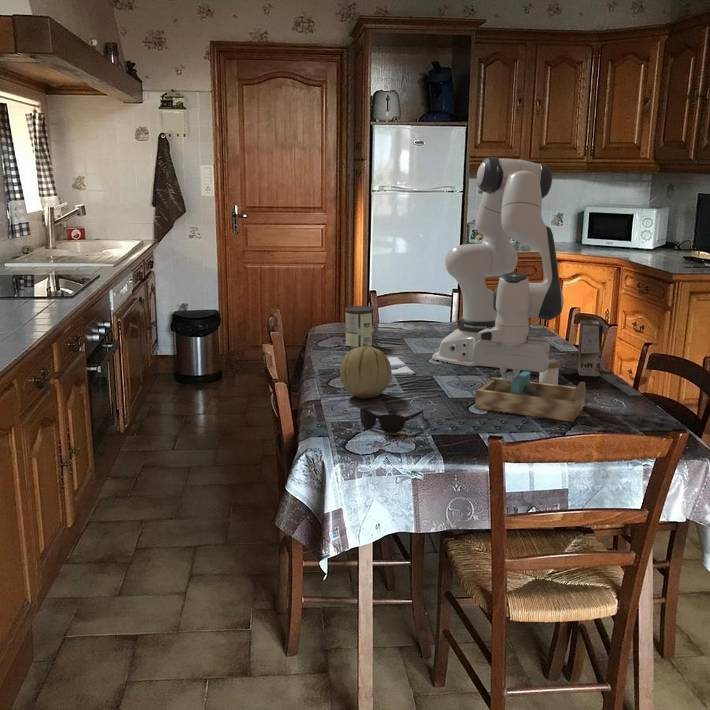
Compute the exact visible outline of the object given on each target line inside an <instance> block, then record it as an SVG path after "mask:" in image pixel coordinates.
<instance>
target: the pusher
mask: <svg viewBox="0 0 710 710" xmlns="http://www.w3.org/2000/svg"><path fill="white" fill-rule="evenodd" d="M531 372H532V371H524V370H522V372H520V373H519V374H518V376H517V377H516V378H515V379H514V380H513V381H512V385H511V393H512V394H520V395H527V396H529V394H534V395H535V394H536V387H530V382H531Z"/></svg>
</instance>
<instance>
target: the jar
mask: <svg viewBox="0 0 710 710" xmlns="http://www.w3.org/2000/svg"><path fill="white" fill-rule="evenodd" d="M560 364H561V362H560V361H559V360H557V359H550V358H549V367H548V369H547V370H546V371H545V372H539V376H538V383H545V384H553V385H559V383H558V382H559V369H560V367H561V365H560Z"/></svg>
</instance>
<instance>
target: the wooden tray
mask: <svg viewBox="0 0 710 710" xmlns="http://www.w3.org/2000/svg"><path fill="white" fill-rule="evenodd" d="M530 387H536V394H535V395H534V394H529V396H527V395H520V394H512V393H511V385H508V384H503V377H502V378H501V377H494V376H492V377H490V380H489V381H488V382H486V383H485V384H484V385H483V386H482V387H480V388H476V390H475V406H474V408H475V409H478V408H479V409H480V410H487V411H493V410H494V412H501V411H502V413H507V412H508V414H514V413H515V415H522V416H523V415H524V416H529V415H530V417H536V416H537V417H538V418H544V419H551V420H552V419H553V420H559V421H565V422H566V421H567V422H574V421H575V420H576V418H577V417H578V415H579V414H580V413H581V412H582V410H583V409H584V408H585V405H586V389H587V388H586V382H585V381H580V382H579V383H578V384H577V386H570V385H560V384H558V385H553V384H545V383H539V382H535V381H530ZM583 407H584V408H583ZM580 411H581V412H580Z"/></svg>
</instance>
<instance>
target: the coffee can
mask: <svg viewBox="0 0 710 710" xmlns="http://www.w3.org/2000/svg"><path fill="white" fill-rule="evenodd" d="M374 310H375V309H374V307H372V306H365V305H354V306H347V307H345V309H344V311H345V346H346V345H348V346H353V347H365V346H363V343H365V344H367V345H368V346H372V345H373V344H374V342H375V341H374V336H375V335H374Z"/></svg>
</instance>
